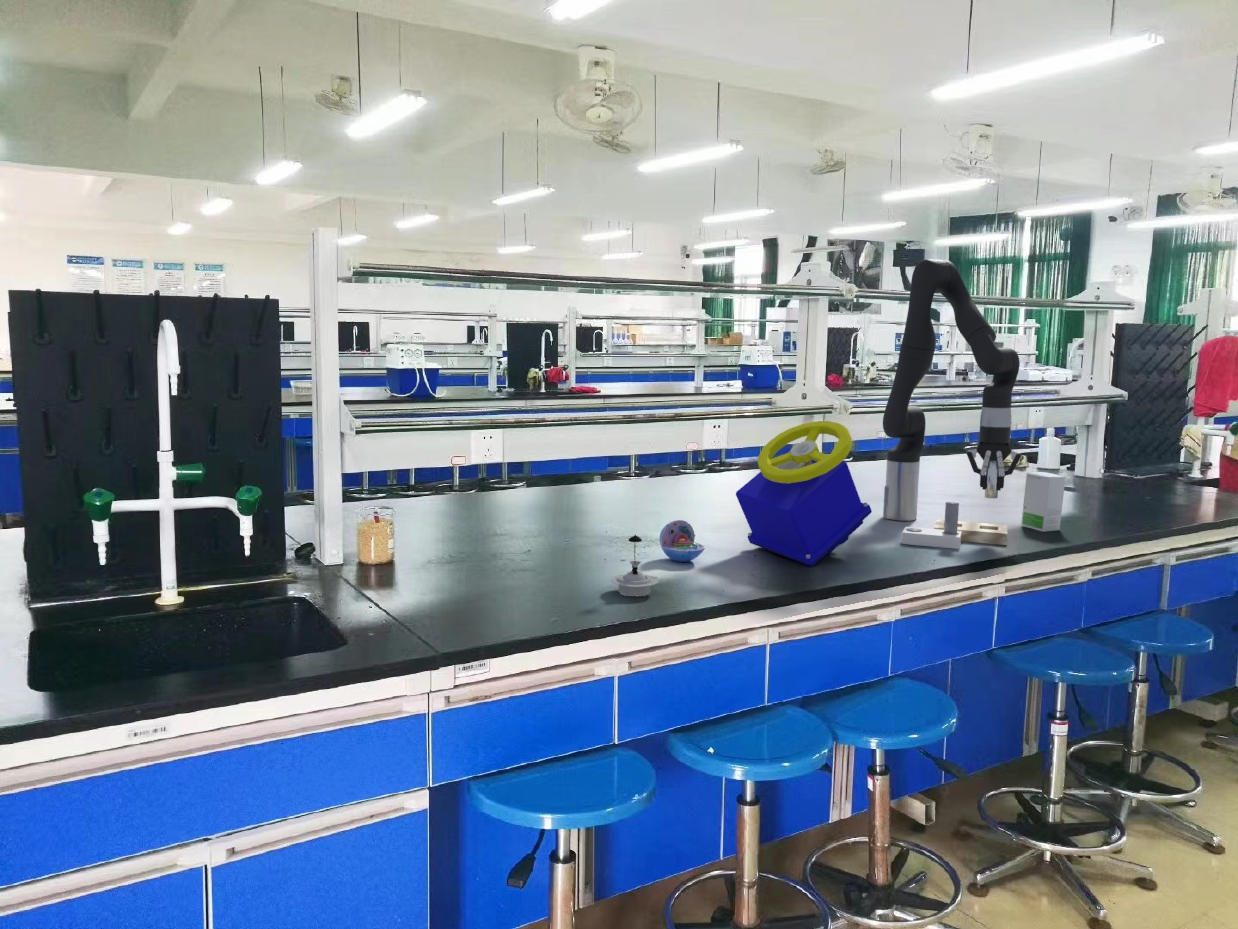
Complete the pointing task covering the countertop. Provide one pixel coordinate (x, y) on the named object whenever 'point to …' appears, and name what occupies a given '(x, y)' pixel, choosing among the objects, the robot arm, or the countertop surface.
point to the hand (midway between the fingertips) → (991, 489)
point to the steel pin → (992, 479)
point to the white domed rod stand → (634, 578)
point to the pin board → (979, 532)
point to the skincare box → (1043, 501)
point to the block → (937, 531)
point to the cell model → (679, 541)
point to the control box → (803, 495)
